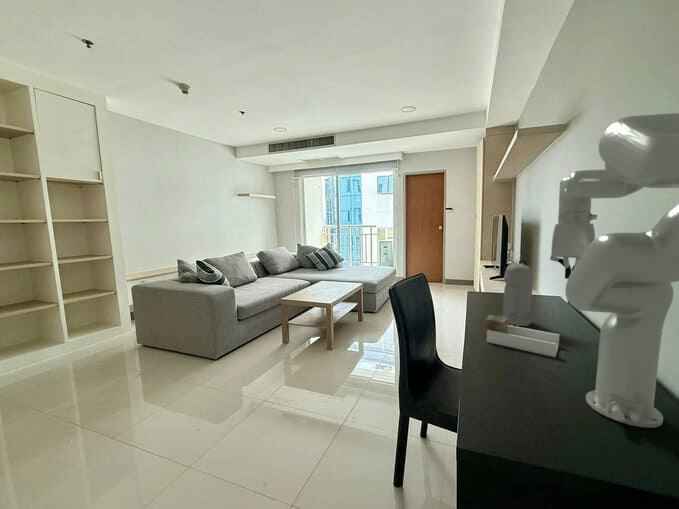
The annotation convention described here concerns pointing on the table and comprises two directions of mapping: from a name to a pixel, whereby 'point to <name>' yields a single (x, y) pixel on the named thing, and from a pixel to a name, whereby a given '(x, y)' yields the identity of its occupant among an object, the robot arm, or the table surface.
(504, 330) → the walnut block
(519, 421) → the table surface
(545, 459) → the table surface
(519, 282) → the unidentifiable
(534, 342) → the chute
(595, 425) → the table surface
